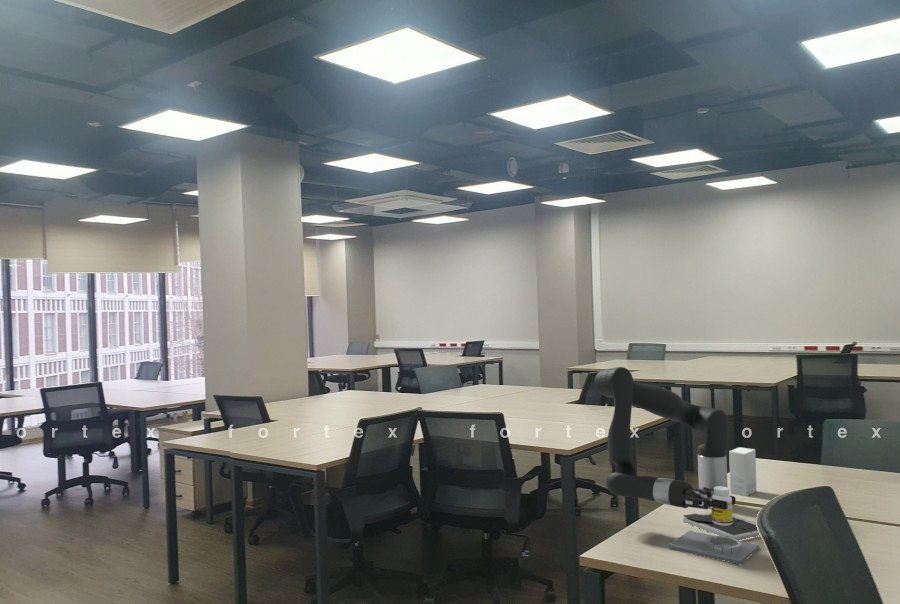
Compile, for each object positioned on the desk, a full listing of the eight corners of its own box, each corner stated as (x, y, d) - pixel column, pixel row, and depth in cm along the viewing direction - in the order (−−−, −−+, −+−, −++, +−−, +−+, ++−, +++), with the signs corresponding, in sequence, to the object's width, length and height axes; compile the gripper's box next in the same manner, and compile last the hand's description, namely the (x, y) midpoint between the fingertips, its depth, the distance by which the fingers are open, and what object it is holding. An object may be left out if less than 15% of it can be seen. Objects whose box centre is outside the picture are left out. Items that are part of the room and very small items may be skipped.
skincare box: (740, 488, 246) (739, 446, 246) (758, 492, 241) (756, 449, 241) (729, 493, 240) (727, 450, 240) (747, 496, 235) (745, 453, 235)
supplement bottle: (707, 521, 187) (706, 486, 187) (722, 518, 189) (721, 484, 189) (721, 527, 182) (720, 491, 182) (737, 524, 184) (736, 489, 184)
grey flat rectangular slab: (689, 533, 200) (689, 530, 200) (759, 548, 186) (759, 545, 186) (668, 548, 188) (668, 544, 188) (740, 565, 175) (740, 561, 175)
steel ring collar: (713, 539, 192) (713, 534, 192) (746, 546, 186) (745, 540, 186) (701, 548, 185) (701, 542, 185) (734, 555, 179) (734, 550, 179)
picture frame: (683, 524, 210) (734, 545, 191) (683, 515, 210) (733, 535, 191) (721, 516, 216) (774, 536, 197) (720, 508, 216) (773, 526, 197)
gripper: (661, 484, 190) (721, 495, 178) (682, 474, 200) (740, 484, 189) (662, 511, 190) (721, 523, 178) (682, 499, 200) (740, 510, 189)
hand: (730, 503), depth 184 cm, fingers closed on supplement bottle, 5 cm apart
